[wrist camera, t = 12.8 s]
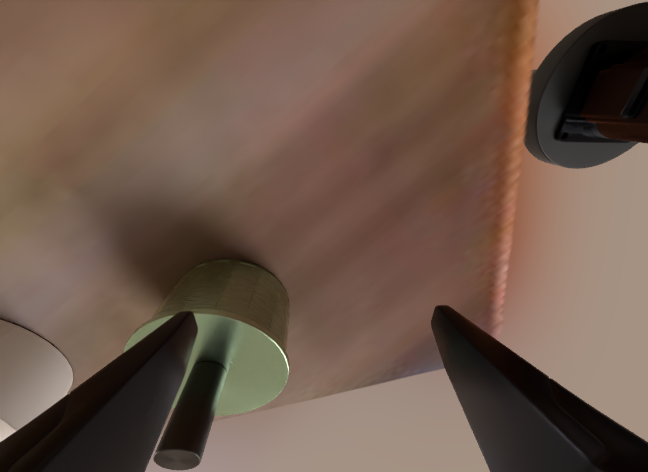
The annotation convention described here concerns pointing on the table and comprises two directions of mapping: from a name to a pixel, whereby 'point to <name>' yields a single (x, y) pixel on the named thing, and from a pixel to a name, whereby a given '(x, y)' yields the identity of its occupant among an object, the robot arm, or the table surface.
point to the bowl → (28, 377)
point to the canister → (233, 293)
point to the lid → (217, 379)
